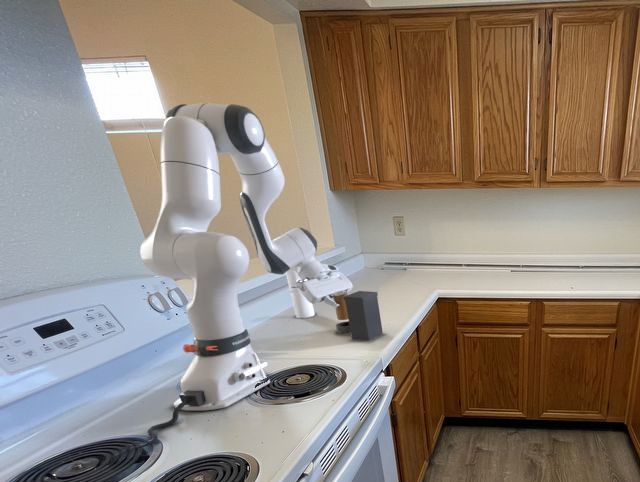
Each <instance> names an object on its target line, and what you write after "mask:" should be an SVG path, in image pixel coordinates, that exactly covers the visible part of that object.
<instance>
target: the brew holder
mask: <svg viewBox="0 0 640 482" xmlns="http://www.w3.org/2000/svg"><path fill="white" fill-rule="evenodd" d="M335 331H336V333H337V334H339V335H349V334H351V330H350V325H349V320H348V321H347V320H345V321H342V322H341V321H340V322H338V323H336V324H335Z"/></svg>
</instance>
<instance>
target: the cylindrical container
mask: <svg viewBox="0 0 640 482" xmlns="http://www.w3.org/2000/svg"><path fill="white" fill-rule="evenodd" d="M285 276H286V279H287V280H286V281H287V284H288V289H289V293H290V297H291V301H292V306H293V309H294V313H295V317H296V318H298V319H307V318H311V317H314V316H315V314H316V313H315V309H314V306H313V305H314V304H312V303H310V302H308V300H307V299H306V298H305V297H304V295H303V294H302V293H301V291H300V289H299V288H298V287H297V286H296V283H297V281H298V280H302V279H301V278H300V277H299V276H298V274H297V273H296V272H295V271H294V270H292V269H291V268H290V270H288V271H287V272H285Z"/></svg>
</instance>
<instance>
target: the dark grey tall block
mask: <svg viewBox="0 0 640 482" xmlns="http://www.w3.org/2000/svg"><path fill="white" fill-rule="evenodd" d="M378 295H379V294H378V291H368V290H367V291H365V290H358V291H356V292H352V293H350V294H348V295H347V296H344V300H345V303H346V309H347V314H348V319H347V320H348V321H349V325H350V330H351V333H350V335H351V339H352V340H358V341H367V342H370V341H372V340H374V339H375V338H377V337H379V336H381V335H383V334H384V333H383V332H384V331H383V325H382V319H381V313H380V306H379V300H378V299H379V298H378Z"/></svg>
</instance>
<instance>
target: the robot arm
mask: <svg viewBox="0 0 640 482" xmlns="http://www.w3.org/2000/svg"><path fill="white" fill-rule="evenodd" d="M161 130H162V131H161V135H160V136H161V138H160V146H159V147H160V148H159V149H160V150H159V151H160V152H159V159H160V160H159V163H160V179H161V203H160V208H159V212H158V216H157V219H156V222H155V225H154V227H153V229H152V231H151V233H150V234H149V235H148V236H147V237H146V238H145V239H144V240H143V242H142V243H141V245H140V250H139V253H140V258H141V261H142V263H143V264H144V266H145V267H146V268H147V269H148V270H149V271H151V272H152V273H154V274H156V275H159V276H163V277H165V278H169V279H173V280H191V281H192V287H193V292H192V293H193V294H192V298H191V299H190V300H189V301H188V302H187V303H186V305H185V314H186V316H187V319H188V322H189V324H190V327H191V330H192V333H193V336H194V337H193V344H192V343H191V344H187V343H186V344H184V345H183V346H182V351H183V353H186V354H187V353H192V354H194V356H193V358H192V360H191V362H190V363H189V365H188V367H187V369H186V370H185V372H184V374H183V375H182V377H181V379H180V381H179V384H180V390H181V393H180V394H178V397H179V398H177V399H176V400H175V401H174V402H173V407H174V408H175V409H174V410H173V412H172V418H171V419H170V420H168V421H165V422H162V423H158V424H156V425H152V426H151V427H150V428H148V430H147V435H148V436H150V437H151V438H154V439H153V440H152V441H150V442H148V443H147V444H145V445H143V446H140V447H138V448H135V449H132V450H129V451H128V452H130V451H133V450H137V449H140V448H144V447H147V446H150V445H152V444H154V443H155V442H156V441H157V440H158V437H159V436H158V434H157V433H156V432H155V431H156V430H159V429H162V428H167V427H170V426H172V425H174V424H175V423H176V422H177V421H178V419H179V413H180V411H195V412H197V411H200V412H201V411H213V410H219V409H224V408H227V407H229V406H231V405H233V404H235V403H236V402H239V401H240V400H242V399H244V398H245V397H247V396H249V395H251V394H253V393H254V392H256V391H259V390H260V389H262V388H264V387H266V386H267V385H269V384H270V383H271V380H270V378H269V380H268V381H267V382H265V383H263V384H261V385H259V386H257V387H256V388H255V385H256V384H257V383H262V382H264V381H261V380H263V379H265V378H267V374H265V371H264V369H263V368H264V367H266V366H268V363H267V362H263V363H262V364H261V361H260V359H259V357H258V355H257V353H256V351H255V350H254V349H253V348H252V346H251V341H252V340H251V336H250V334H249V332H248V331H249V330H248V329H247V328H246V327H245V323H244V320H243V317H242V313H241V309H240V306H239V299H238V298H239V297H238V295H239V293H238V291H239V286H240V285H239V284H240V281H241V279H242V277H243V276H244V275H245V274H246V273H247V271H248V269H249V266H250V254H249V251H248V249H247V247H246V245H245V244H244V243H243V241H241V240H240V239H239V238H238V237H236V236H233V235H230V234H226V233H222V232H218V231H208V229H209V226H210V223H211V222H212V220H213V219H214V218H215V217H216V216H217V215H218V214H219V213H220V211H221V208H222V197H221V196H222V193H221V177H220V176H221V175H220V173H221V172H220V162H219V157H218V155H220V156H230V157H231V160H232V163H233V164H234V166H235V169H236V170H237V173H238V175H239V177H240V180H241V193H240V195H239V197H238V198H239V203H240V207H241V210H242V213H243V216H244V218H245V221H246V225H247V227H248V229H249V232H250V235H251V238H252V240H253V243H254V246H255V251H256V255H257V257H258V260H259V263H260V264H261V266H262V267H263V269H265V271H267V272H268V273H270V274H273V275H284V274H286V272H287V271H288V270H290V268H291V269H292V270H294V271H295V272H296V273H297V274H298V276H299V277H300V278H301V279H302V280H298V281H297V283H296V286H297V287H298V288H299V289H300V291H301V293H302V294H303V295H304V297H305V298H306V299H307V300H308V302H310V303H312V305H315V304H316V305H317V304H318V303H321V302H324V303H325V304H327V305H329V306H331V307H332V308H334V310H336V308H338V307H339V306H340V304H339V303H338V302H337V301H336V302H335V301H334V298H333V295H332V294H334V293H337V292H348V294H347V295H349V293H350V292H351V291H352V289H353V288H354V285H353V283H352V282H351V279H349V278H348V277H347V276H346V275H345V274H344V273H343V272H341V271H339V267H338V266H336V265H332V264H331V265H330V264H326V263H322V262H321V261H320V260H318V259H317V258H316V257H315V256H316V255H317V250H318V241H317V239H316V238H315V236H314V235H312V233H311V232H310V231H309V230H307V229H306V228H303V227H299V226H298V227H294V228H292V229H291V230H288V231H286V232H284V233H283V234H282V235H280V236H278V237H276V238H274V239H273V240H272V239H271V235H270V233H269V229H268V227H267V223H266V215H267V212H268V211H269V209H270V207H271V206H272V205H273V204H274V202H275V201H276V200H277V199H278V198H279V197H280V196H281V194H282V193H283V191H284V187H285V183H286V179H285V174H284V172H283V169H282V166H281V164H280V162H279V160H278V158H277V156H276V154H275V152H274V150H273V148H272V146H271V145H270V142H269V141H268V140H267V138H266V134H265V129H264V126H263V123H262V122H261V120H260V118H259V117H258V116H257V114H255V113H254V112H253V111H252V109H250V108H249V107H247V106H244V105H240V104H234V103H232V104H223V103H212V102H199V103H191V104H187V103H186V104H185V103H182V104H178V105H175V106H173V107H171V108H170V109H168V111H167V113H166V116H165V121H164V123H163V126H162V129H161ZM253 388H254V389H253ZM131 445H132V444H130V445H127V446H123V447H122V448H120V449H119V450H122V449H125V448H128V447H130V446H131ZM124 453H126V452H124ZM124 453H122V454H120V455H117V456H115V457H111V456H110V458H111V459H112V461H110V460H111V459H110V458H109V459H108V461H107V466H109V465H113V464H114V463H116V461H117V459H118V458H119V457H120V456H121V455H123V454H124ZM109 461H110V462H109Z"/></svg>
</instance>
